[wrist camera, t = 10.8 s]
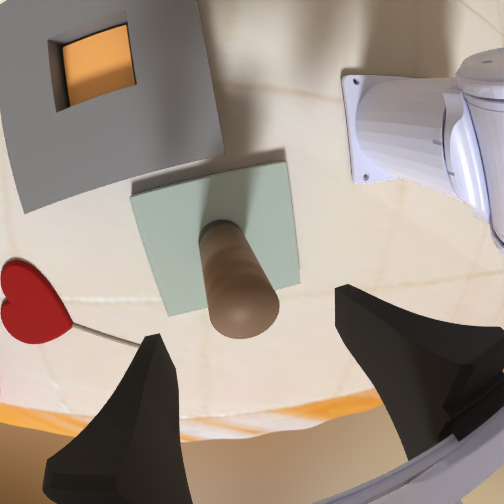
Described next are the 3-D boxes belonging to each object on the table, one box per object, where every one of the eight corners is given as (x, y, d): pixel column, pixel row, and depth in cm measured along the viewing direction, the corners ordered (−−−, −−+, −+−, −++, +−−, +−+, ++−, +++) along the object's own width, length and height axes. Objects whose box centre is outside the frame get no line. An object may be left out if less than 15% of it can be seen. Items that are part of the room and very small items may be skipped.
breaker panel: (184, -38, 12) (186, -63, 9) (218, 149, 18) (225, 154, 15) (19, 19, 11) (-4, 6, 7) (47, 199, 17) (24, 214, 14)
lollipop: (177, 312, 23) (5, 250, 17) (177, 319, 22) (-1, 254, 17) (151, 379, 25) (4, 327, 20) (150, 386, 24) (0, 333, 19)
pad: (282, 160, 19) (286, 162, 19) (296, 278, 23) (300, 283, 22) (131, 194, 18) (129, 197, 17) (168, 310, 22) (168, 316, 21)
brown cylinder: (240, 215, 19) (275, 272, 12) (247, 256, 21) (282, 329, 14) (194, 224, 19) (202, 289, 12) (203, 266, 20) (217, 345, 13)
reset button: (129, 30, 13) (126, 24, 12) (138, 87, 15) (135, 84, 14) (69, 51, 13) (62, 47, 12) (77, 107, 14) (70, 106, 13)
